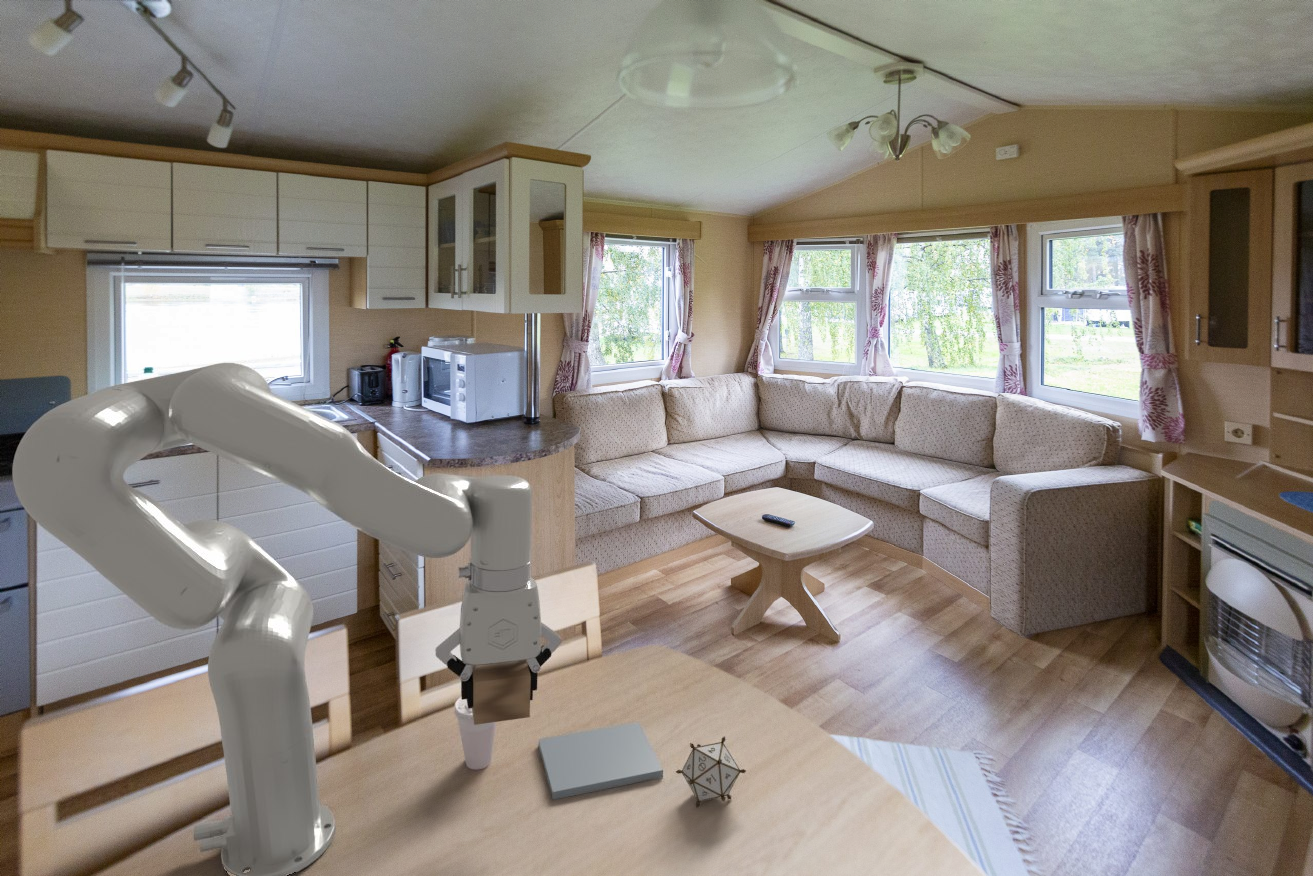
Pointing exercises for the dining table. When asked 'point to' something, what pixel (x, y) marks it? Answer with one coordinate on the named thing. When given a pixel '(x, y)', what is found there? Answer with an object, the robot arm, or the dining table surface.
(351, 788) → the dining table surface
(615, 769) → the plate
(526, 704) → the walnut block
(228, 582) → the robot arm
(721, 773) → the game die
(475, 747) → the smoothie
